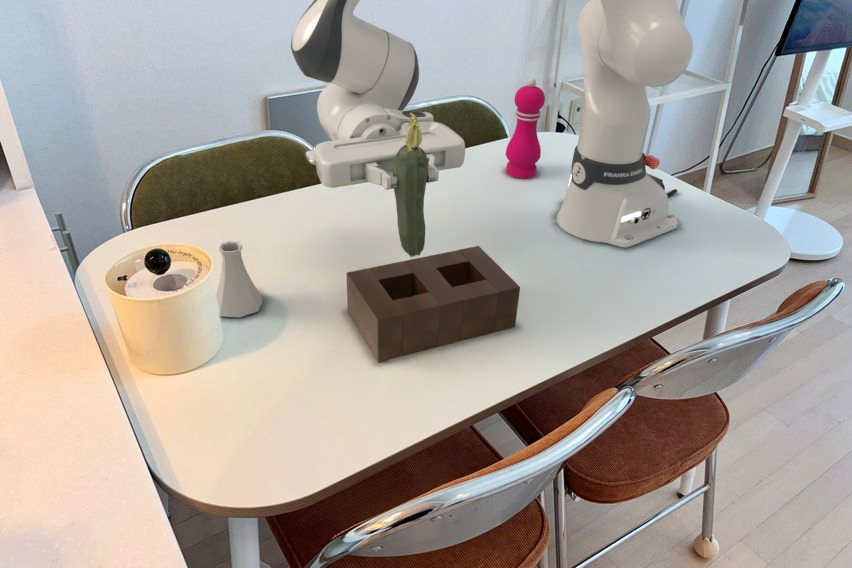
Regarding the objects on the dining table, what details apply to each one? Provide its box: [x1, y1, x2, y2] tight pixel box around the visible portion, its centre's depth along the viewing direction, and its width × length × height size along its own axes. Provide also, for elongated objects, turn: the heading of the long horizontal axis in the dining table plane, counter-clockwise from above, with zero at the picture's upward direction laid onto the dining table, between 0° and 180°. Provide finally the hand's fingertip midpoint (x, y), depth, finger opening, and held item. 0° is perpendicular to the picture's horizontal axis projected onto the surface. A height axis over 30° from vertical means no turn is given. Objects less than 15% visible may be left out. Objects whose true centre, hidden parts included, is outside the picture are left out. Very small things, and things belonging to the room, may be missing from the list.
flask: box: [216, 240, 264, 318], centre depth 100 cm, size 7×7×10 cm
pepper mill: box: [505, 77, 546, 180], centre depth 142 cm, size 7×7×20 cm
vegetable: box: [393, 113, 428, 259], centre depth 89 cm, size 4×4×20 cm
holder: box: [346, 245, 521, 363], centre depth 100 cm, size 21×12×7 cm, turn 114°
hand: (413, 180), depth 87 cm, fingers closed on vegetable, 4 cm apart
